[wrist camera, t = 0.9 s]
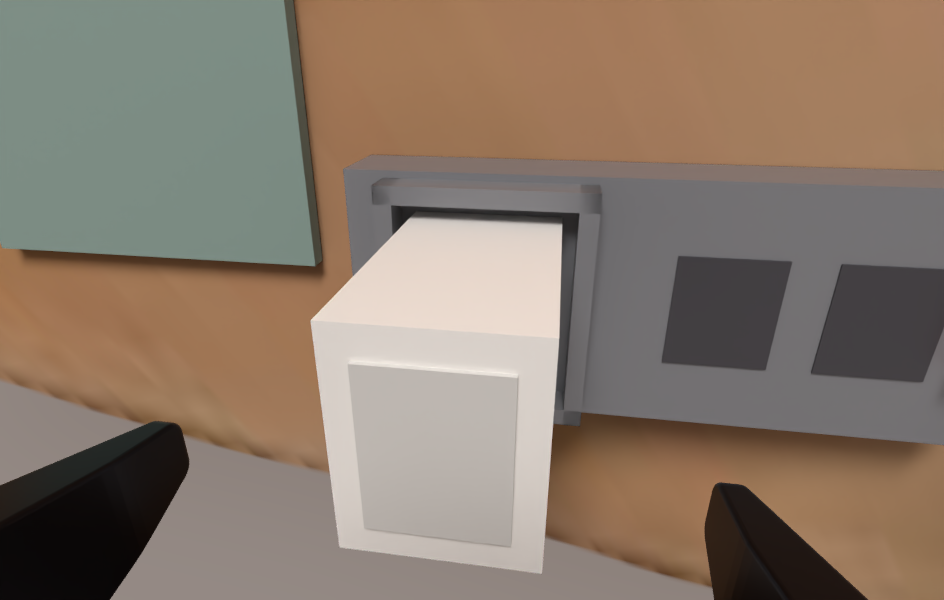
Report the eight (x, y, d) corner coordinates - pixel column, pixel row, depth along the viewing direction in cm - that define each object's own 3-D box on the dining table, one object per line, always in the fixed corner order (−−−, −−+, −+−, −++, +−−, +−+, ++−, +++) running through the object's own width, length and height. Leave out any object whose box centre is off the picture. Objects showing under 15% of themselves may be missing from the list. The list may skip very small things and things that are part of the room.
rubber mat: (272, -182, 14) (261, -191, 14) (322, 260, 19) (315, 266, 19) (-120, -157, 16) (-144, -165, 15) (17, 243, 21) (2, 248, 20)
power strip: (1020, 172, 15) (1138, 203, 12) (930, 400, 18) (1006, 472, 15) (371, 154, 17) (329, 176, 14) (385, 356, 20) (352, 409, 17)
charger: (562, 217, 15) (558, 341, 8) (551, 378, 17) (541, 578, 10) (416, 211, 15) (307, 323, 9) (422, 368, 17) (337, 551, 11)
